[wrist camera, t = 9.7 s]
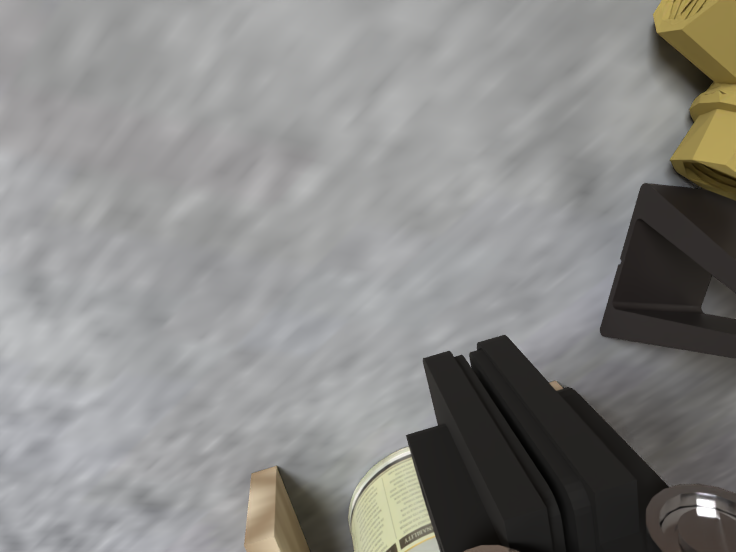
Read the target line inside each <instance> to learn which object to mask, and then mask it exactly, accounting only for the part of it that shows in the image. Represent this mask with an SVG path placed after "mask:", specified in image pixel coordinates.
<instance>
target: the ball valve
mask: <svg viewBox="0 0 736 552" xmlns="http://www.w3.org/2000/svg"><path fill="white" fill-rule="evenodd" d="M653 16H654V21H655V26H656V31H657V33H658V34H659V35H660V36H661V37H662V38H663V39H665V40H666V41H667V42H668V43H669V44H670V45H672V46H673V47H674V48H675V49H676V50H677V51H679V52H680V53H681V54H682V55H683V56H685V57H686V58H687V59H688V60H689V61H690V62H692V63H693V64H694V65H695V66H696V67H697V68H699V69H700V70H701V71H702V72H703V73H704V74H706V75H707V76H708V77H709V78H710V79H711V80H713V81H714V82H713V83H712V84H711V85H710V87H709V88H708V89H707V90H706V91H705V92H704V93H701V94H700V95H699V96H698V97H697V98H696V99H694V101H693V103H692V105H691V107H690V109H689V110H690V115H691V117H692V119H693V121H694V124H693V125H692V127H691V128H690V130H689V131H688V133H687V134H686V136H685V137H684V139H683V141H682V142H681V144H680V145H679V147H678V148H677V150H676V151H675V153H674V154H673V156H672V157H671V159H670V161H671V163H672V165H673V167H674V168H675V170H676V172H677V173H679V174H681V175H682V176H684V177H685V178H687V179H689V180H690V181H692V182H693V183H695V184H697V185H698V186H700V187H701V188H704V189H706V190H709V191H712V192H714V193H717V194H720V195H722V196H725V197H727V198H730V199H733V200H735V201H736V0H662V1H661V3H660V4H659V6H658V7H657V9H656V11H655V12H654V14H653Z"/></svg>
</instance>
